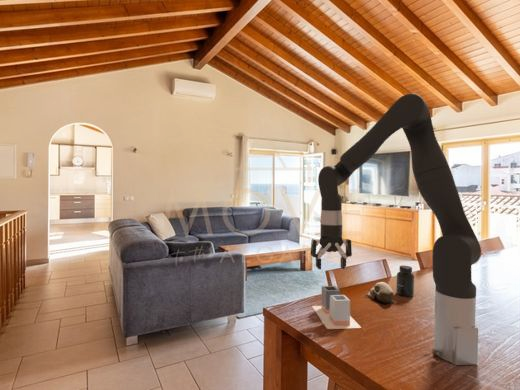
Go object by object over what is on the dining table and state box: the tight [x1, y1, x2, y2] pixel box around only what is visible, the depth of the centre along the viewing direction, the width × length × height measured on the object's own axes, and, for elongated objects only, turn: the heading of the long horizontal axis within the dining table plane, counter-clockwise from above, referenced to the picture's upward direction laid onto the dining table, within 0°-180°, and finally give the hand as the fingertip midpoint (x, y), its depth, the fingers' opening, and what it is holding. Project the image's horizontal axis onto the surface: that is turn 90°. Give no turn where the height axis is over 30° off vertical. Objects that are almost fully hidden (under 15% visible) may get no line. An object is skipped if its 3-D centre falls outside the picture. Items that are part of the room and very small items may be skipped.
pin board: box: [311, 305, 362, 330], centre depth 103 cm, size 18×11×6 cm, turn 6°
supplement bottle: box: [395, 264, 415, 298], centre depth 129 cm, size 7×7×12 cm
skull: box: [364, 281, 398, 307], centre depth 122 cm, size 12×10×10 cm
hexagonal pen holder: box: [330, 294, 351, 326], centre depth 98 cm, size 5×5×8 cm
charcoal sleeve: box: [320, 285, 341, 314], centre depth 107 cm, size 5×5×8 cm
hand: (331, 268), depth 107 cm, fingers open, 8 cm apart
